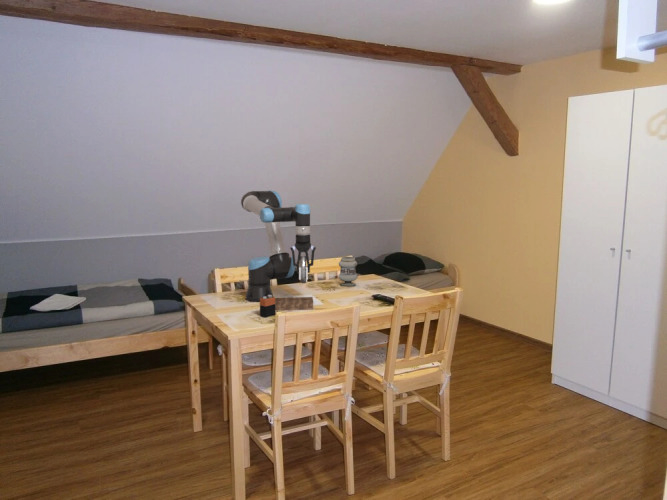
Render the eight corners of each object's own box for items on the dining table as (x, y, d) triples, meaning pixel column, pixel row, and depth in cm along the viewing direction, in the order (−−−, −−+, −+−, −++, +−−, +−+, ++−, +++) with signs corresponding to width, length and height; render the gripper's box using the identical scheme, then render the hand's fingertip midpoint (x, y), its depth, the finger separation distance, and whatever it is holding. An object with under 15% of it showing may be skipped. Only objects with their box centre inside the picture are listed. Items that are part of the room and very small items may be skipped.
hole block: (266, 310, 254) (266, 302, 253) (267, 306, 263) (267, 297, 262) (313, 309, 256) (313, 301, 255) (312, 305, 265) (312, 297, 264)
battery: (275, 315, 246) (275, 295, 244) (265, 317, 241) (265, 297, 239) (269, 313, 249) (269, 294, 247) (259, 316, 243) (259, 296, 242)
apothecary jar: (335, 284, 317) (335, 256, 315) (351, 282, 323) (351, 255, 320) (344, 288, 307) (344, 259, 304) (361, 286, 312) (361, 258, 310)
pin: (300, 283, 256) (300, 256, 254) (300, 282, 259) (300, 255, 257) (306, 283, 257) (306, 256, 255) (306, 282, 259) (305, 255, 258)
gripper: (287, 235, 250) (287, 280, 253) (318, 234, 252) (319, 280, 255) (287, 233, 257) (287, 278, 261) (318, 233, 259) (318, 277, 262)
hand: (303, 279), depth 258 cm, fingers closed on pin, 3 cm apart
